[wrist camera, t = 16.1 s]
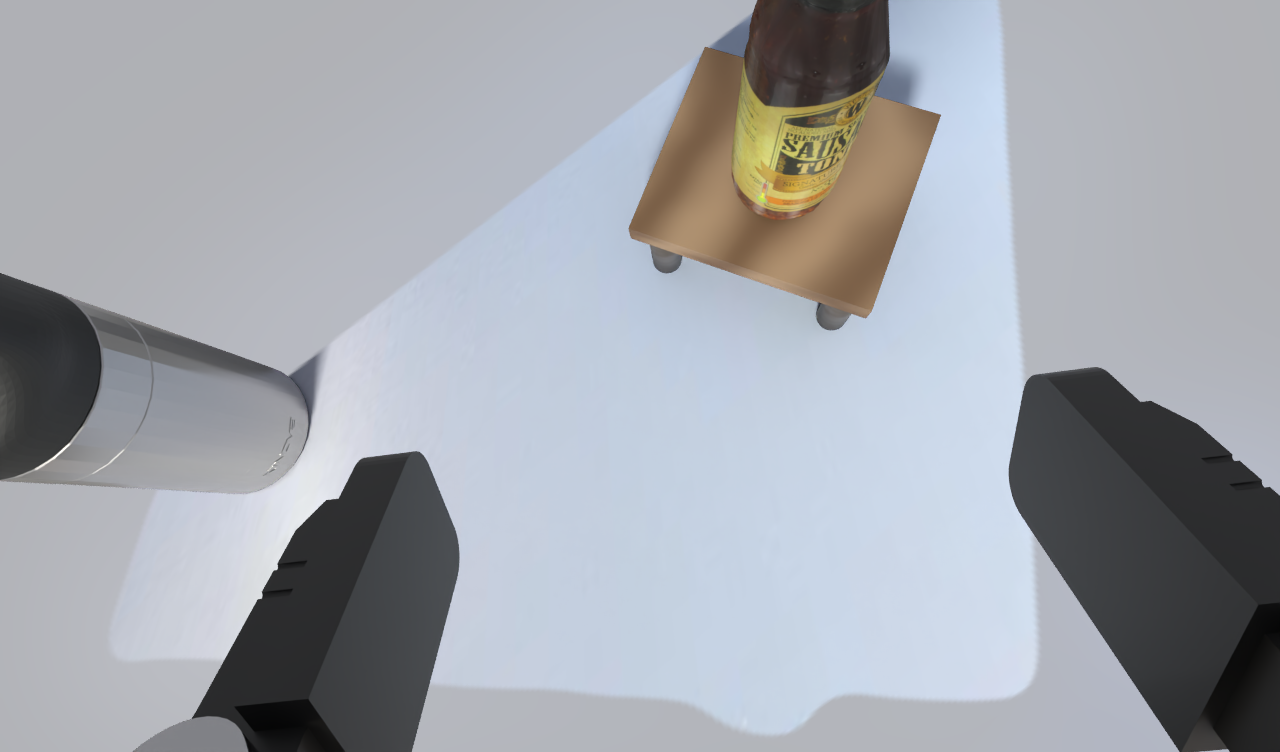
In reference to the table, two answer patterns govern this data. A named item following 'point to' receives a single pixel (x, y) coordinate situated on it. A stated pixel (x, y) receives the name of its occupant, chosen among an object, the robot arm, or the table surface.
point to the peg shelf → (793, 248)
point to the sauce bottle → (804, 99)
